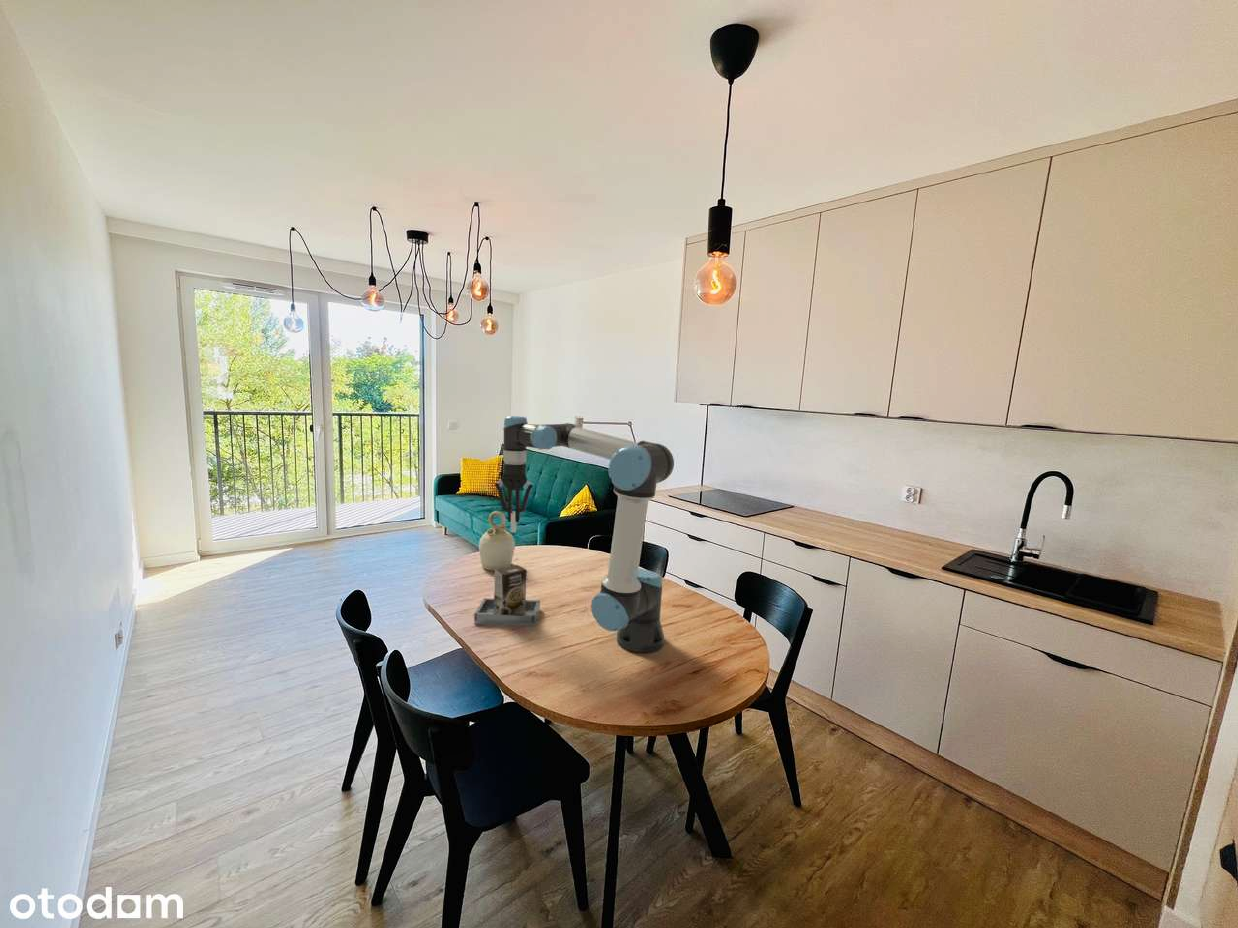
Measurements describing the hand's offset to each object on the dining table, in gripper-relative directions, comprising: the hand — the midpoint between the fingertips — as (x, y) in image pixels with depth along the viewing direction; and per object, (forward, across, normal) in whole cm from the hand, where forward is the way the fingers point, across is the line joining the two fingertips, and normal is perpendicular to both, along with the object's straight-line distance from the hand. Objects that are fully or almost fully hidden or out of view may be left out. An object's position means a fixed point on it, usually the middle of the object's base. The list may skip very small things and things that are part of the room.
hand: (513, 531), depth 169 cm
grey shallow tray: (+30, +1, +2) cm, 30 cm away
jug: (+30, +15, -47) cm, 58 cm away
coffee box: (+29, 0, +2) cm, 29 cm away
